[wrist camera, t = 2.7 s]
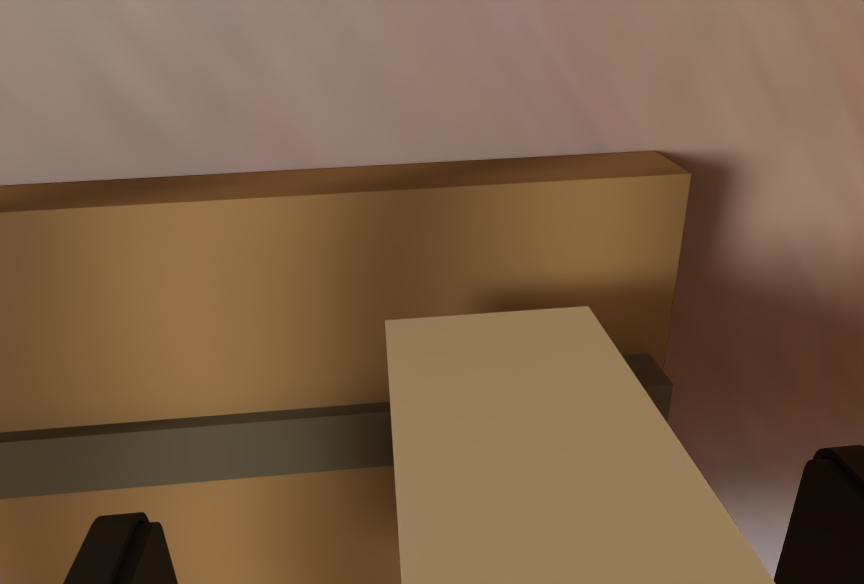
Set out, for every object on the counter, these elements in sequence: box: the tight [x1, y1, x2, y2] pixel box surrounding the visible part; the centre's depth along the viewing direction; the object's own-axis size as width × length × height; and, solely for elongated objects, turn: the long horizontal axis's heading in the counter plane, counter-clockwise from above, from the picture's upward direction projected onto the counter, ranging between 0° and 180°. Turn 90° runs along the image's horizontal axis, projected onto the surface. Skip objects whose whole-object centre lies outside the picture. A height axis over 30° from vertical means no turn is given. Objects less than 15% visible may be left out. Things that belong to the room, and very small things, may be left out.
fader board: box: [0, 151, 691, 584], centre depth 12 cm, size 22×9×2 cm, turn 92°
